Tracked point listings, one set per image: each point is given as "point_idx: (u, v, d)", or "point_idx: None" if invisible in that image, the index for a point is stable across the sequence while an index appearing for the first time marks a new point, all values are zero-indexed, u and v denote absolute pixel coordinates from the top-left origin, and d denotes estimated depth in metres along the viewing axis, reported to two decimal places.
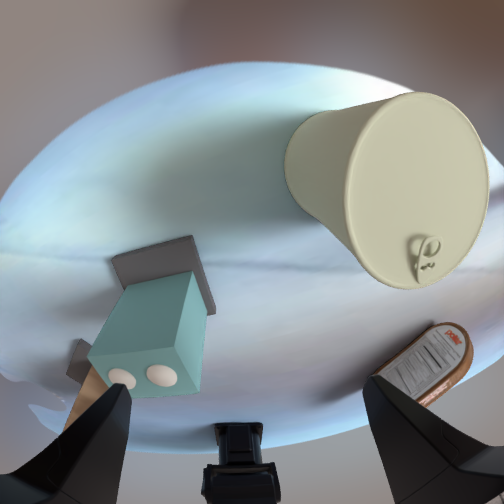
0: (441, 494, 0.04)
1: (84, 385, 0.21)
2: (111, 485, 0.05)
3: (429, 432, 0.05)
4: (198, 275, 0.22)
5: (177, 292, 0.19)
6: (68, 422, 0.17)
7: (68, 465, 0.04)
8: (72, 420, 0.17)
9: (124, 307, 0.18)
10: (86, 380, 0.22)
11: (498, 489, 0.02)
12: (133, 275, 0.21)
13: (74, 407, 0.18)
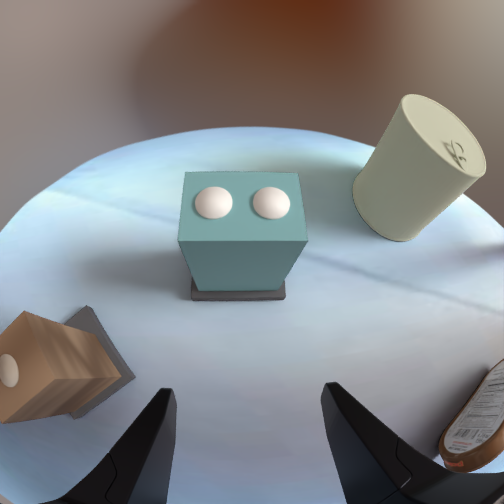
0: None
1: (71, 329, 0.15)
2: (162, 495, 0.06)
3: (382, 450, 0.05)
4: None
5: None
6: (25, 313, 0.10)
7: (126, 482, 0.04)
8: (32, 318, 0.11)
9: None
10: (76, 329, 0.16)
11: None
12: None
13: (45, 319, 0.12)
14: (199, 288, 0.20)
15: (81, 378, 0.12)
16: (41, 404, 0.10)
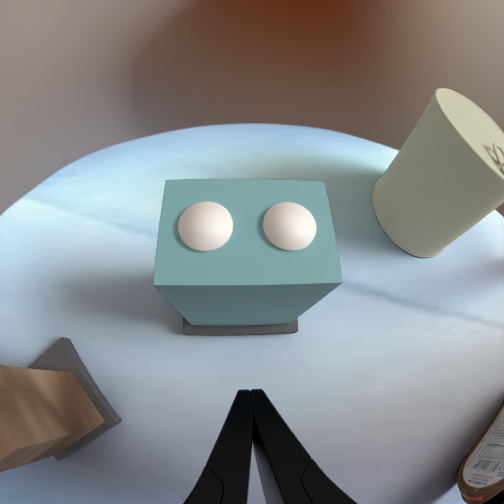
0: None
1: (41, 372, 0.11)
2: (247, 499, 0.06)
3: (288, 470, 0.05)
4: None
5: None
6: None
7: (235, 492, 0.04)
8: None
9: None
10: (48, 372, 0.11)
11: None
12: None
13: (6, 367, 0.08)
14: (192, 323, 0.16)
15: (52, 438, 0.08)
16: (13, 461, 0.06)
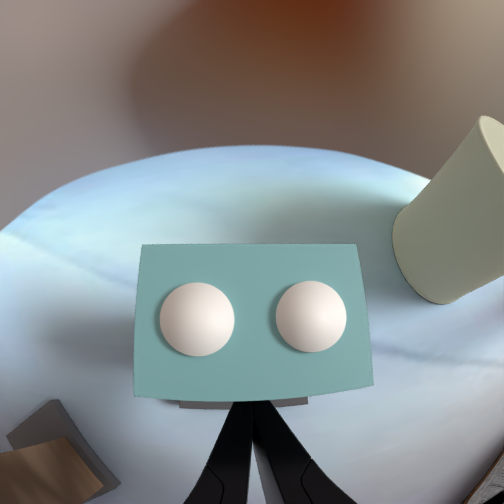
0: None
1: (32, 448, 0.08)
2: (247, 499, 0.06)
3: (288, 470, 0.05)
4: None
5: None
6: None
7: (235, 492, 0.04)
8: None
9: None
10: (39, 446, 0.08)
11: None
12: None
13: None
14: None
15: None
16: None
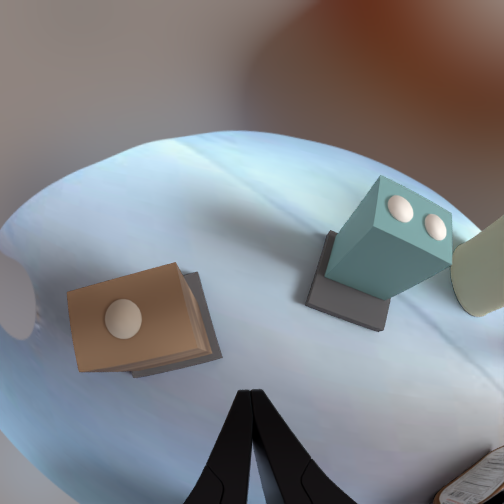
0: None
1: (191, 292, 0.17)
2: (247, 499, 0.06)
3: (288, 470, 0.05)
4: None
5: None
6: (176, 265, 0.12)
7: (235, 493, 0.04)
8: (180, 273, 0.13)
9: None
10: (193, 295, 0.18)
11: None
12: None
13: (183, 277, 0.14)
14: (328, 274, 0.21)
15: (203, 350, 0.14)
16: (140, 363, 0.12)
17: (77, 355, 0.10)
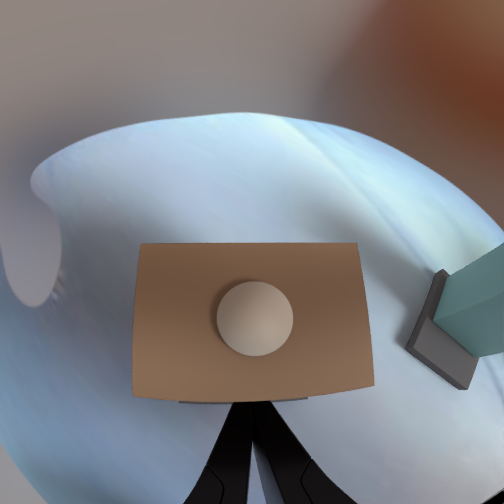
0: None
1: None
2: (247, 499, 0.06)
3: (288, 470, 0.05)
4: None
5: None
6: (356, 248, 0.08)
7: (235, 493, 0.04)
8: None
9: None
10: None
11: None
12: None
13: None
14: (440, 319, 0.15)
15: None
16: None
17: (137, 365, 0.06)
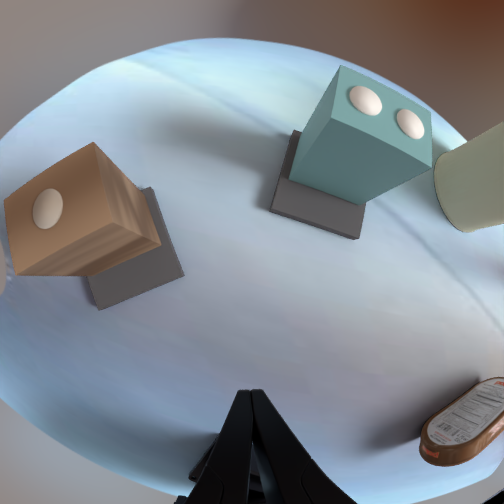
0: None
1: (128, 180, 0.15)
2: (247, 499, 0.06)
3: (289, 470, 0.05)
4: None
5: None
6: (94, 145, 0.10)
7: (235, 493, 0.04)
8: (99, 153, 0.10)
9: None
10: (132, 183, 0.16)
11: None
12: None
13: (110, 160, 0.12)
14: (292, 176, 0.19)
15: (133, 232, 0.13)
16: (72, 256, 0.11)
17: (13, 258, 0.09)
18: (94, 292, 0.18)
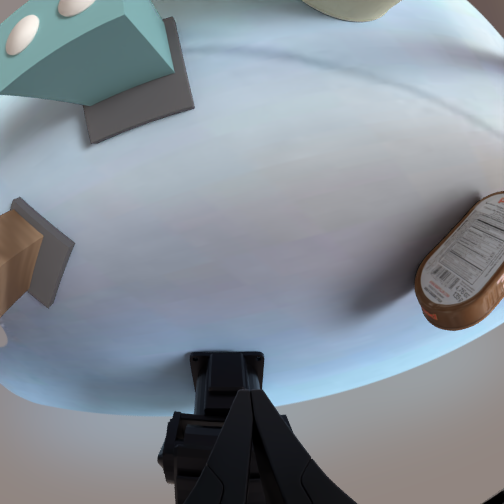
0: None
1: None
2: (247, 499, 0.06)
3: (288, 470, 0.05)
4: (175, 53, 0.13)
5: None
6: None
7: (235, 492, 0.04)
8: None
9: None
10: None
11: None
12: None
13: None
14: (86, 104, 0.13)
15: None
16: None
17: None
18: (38, 298, 0.19)
